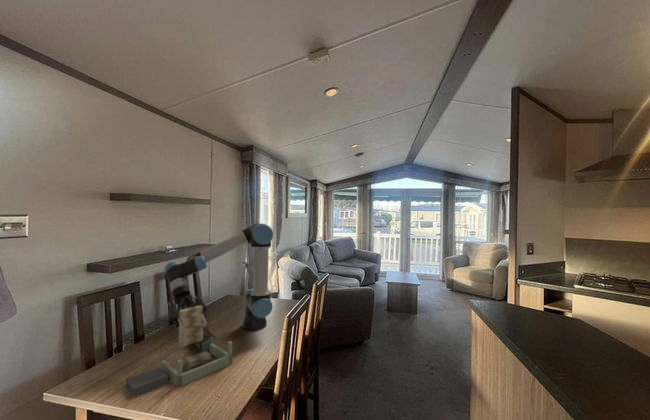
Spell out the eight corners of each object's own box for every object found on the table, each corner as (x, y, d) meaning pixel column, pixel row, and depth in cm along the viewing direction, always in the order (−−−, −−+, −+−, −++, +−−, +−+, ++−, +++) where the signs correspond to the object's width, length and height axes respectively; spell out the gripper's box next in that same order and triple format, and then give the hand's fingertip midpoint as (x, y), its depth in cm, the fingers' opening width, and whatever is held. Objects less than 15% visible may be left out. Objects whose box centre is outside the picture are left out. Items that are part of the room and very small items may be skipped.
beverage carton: (200, 354, 140) (201, 340, 141) (190, 340, 155) (191, 328, 155) (217, 349, 145) (217, 336, 146) (205, 337, 160) (205, 325, 160)
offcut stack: (206, 363, 131) (206, 350, 131) (212, 367, 127) (213, 354, 128) (182, 372, 123) (182, 358, 123) (188, 377, 119) (188, 363, 119)
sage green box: (212, 351, 143) (212, 331, 143) (232, 363, 131) (232, 342, 131) (160, 370, 125) (161, 347, 125) (178, 387, 113) (178, 361, 113)
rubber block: (158, 374, 122) (158, 367, 122) (167, 383, 115) (167, 375, 115) (125, 386, 113) (126, 379, 113) (133, 397, 106) (133, 389, 106)
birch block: (200, 337, 137) (200, 305, 137) (203, 339, 135) (203, 306, 135) (178, 345, 129) (178, 310, 129) (181, 347, 127) (181, 311, 128)
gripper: (199, 289, 151) (214, 325, 140) (153, 298, 134) (165, 341, 123) (204, 280, 148) (219, 317, 137) (157, 289, 130) (170, 332, 120)
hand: (194, 329), depth 130 cm, fingers closed on birch block, 10 cm apart
